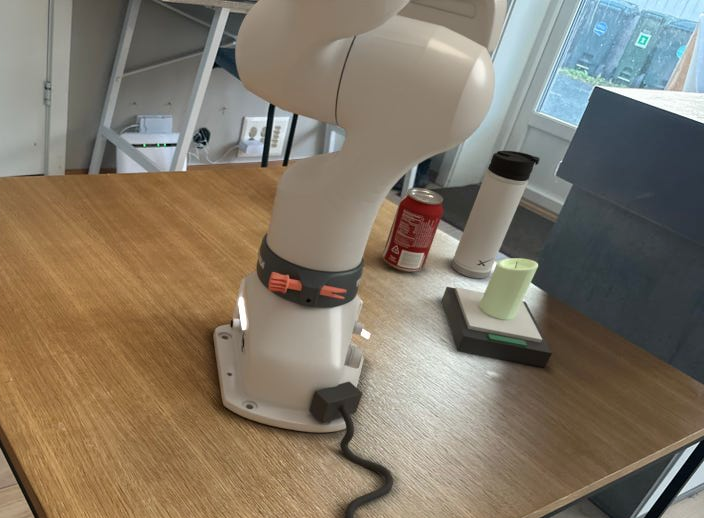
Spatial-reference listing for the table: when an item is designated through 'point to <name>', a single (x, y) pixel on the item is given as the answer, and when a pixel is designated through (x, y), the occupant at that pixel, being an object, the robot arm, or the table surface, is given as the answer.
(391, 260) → the soda can
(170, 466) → the table surface
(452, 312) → the scale
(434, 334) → the table surface
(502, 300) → the candle
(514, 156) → the travel mug
